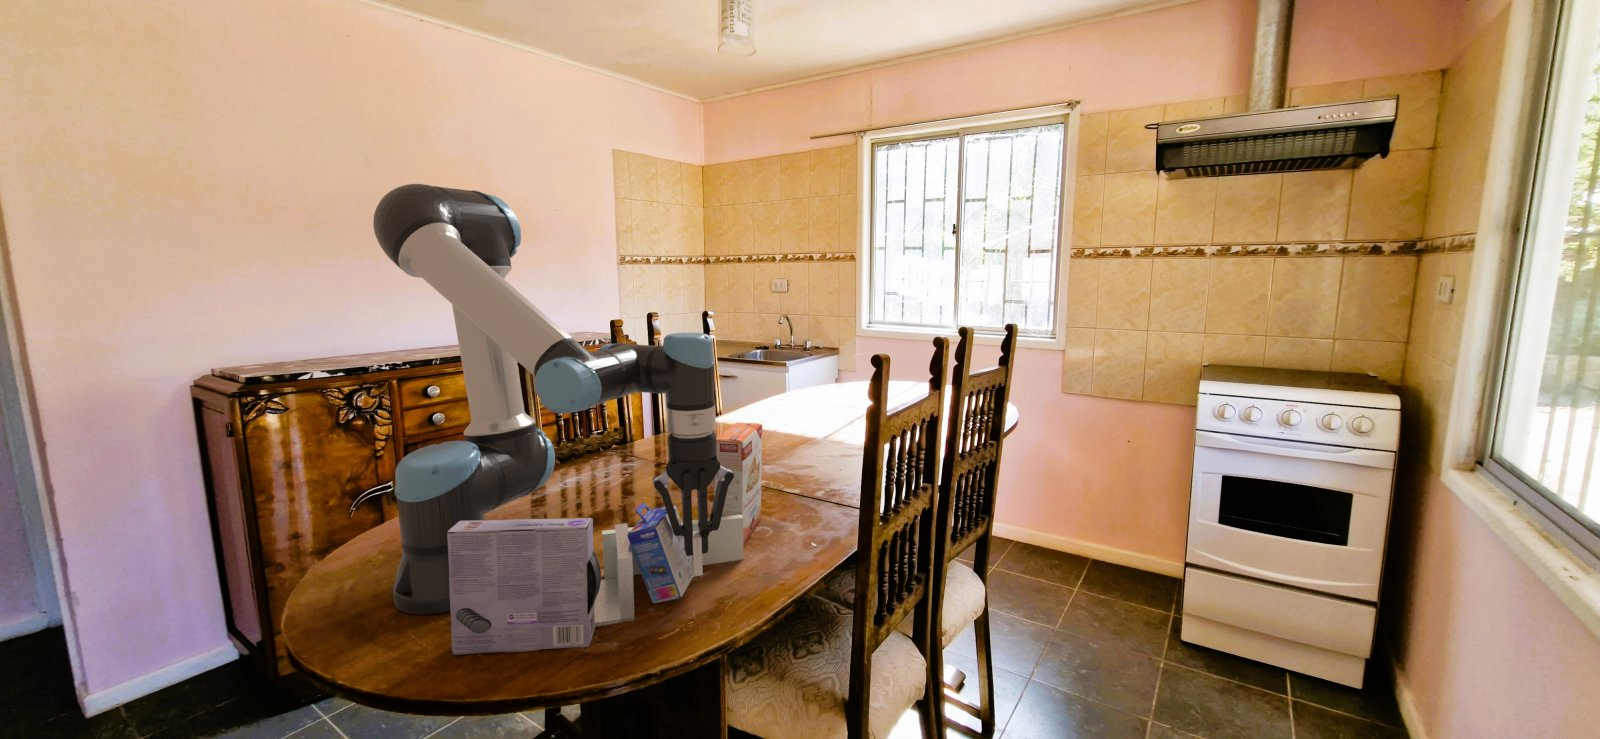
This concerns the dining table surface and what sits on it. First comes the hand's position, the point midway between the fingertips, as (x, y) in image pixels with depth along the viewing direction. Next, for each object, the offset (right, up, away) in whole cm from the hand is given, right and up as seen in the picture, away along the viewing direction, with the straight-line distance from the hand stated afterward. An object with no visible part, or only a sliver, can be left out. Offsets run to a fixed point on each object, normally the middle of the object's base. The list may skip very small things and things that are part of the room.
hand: (697, 571), depth 102 cm
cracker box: (+5, 0, +23) cm, 23 cm away
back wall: (-5, -2, +8) cm, 10 cm away
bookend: (-14, -4, -4) cm, 15 cm away
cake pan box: (-21, -6, -14) cm, 26 cm away
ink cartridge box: (-3, -3, 0) cm, 4 cm away
